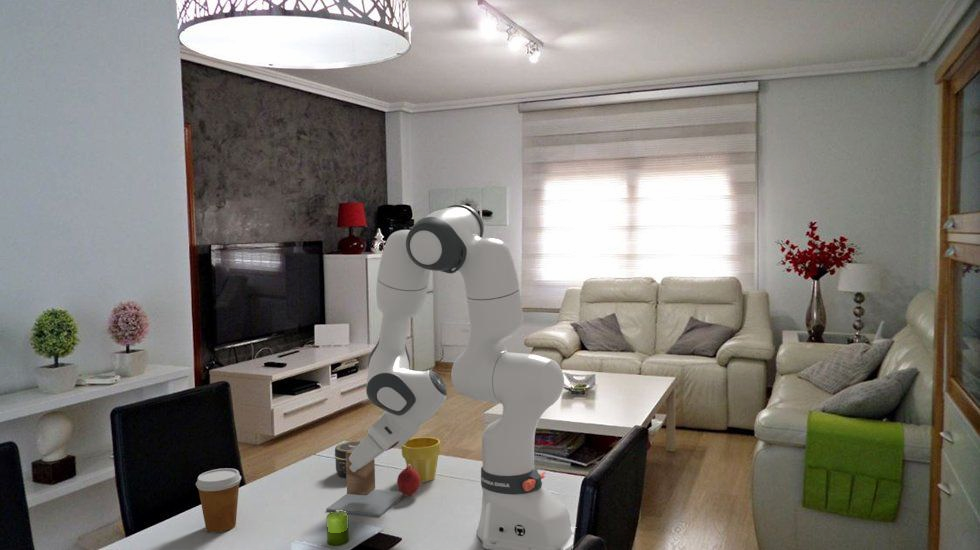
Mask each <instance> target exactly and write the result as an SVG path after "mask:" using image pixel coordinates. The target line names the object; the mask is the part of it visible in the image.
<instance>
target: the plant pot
mask: <svg viewBox="0 0 980 550" xmlns="http://www.w3.org/2000/svg"><path fill="white" fill-rule="evenodd" d="M441 446H442V445H441V440H440V439H439V438H437V437H431V436H420V437H419V436H418V437H411V438H410V439H409V440H408V441H407V442H406V443H405V445H403V446H401V456H402V458H403V459H404V460H405V466H407V465H409V464H411V465H412V468H413V469H414V470H416V471H417V472H418V474H419V476H420V480H421V483H425V482H431V481H432V480H435V478H436V473H437V465H438V461H439V460H438V459H439V456H440V454H441V451H442V450H441V448H442V447H441ZM430 480H431V481H430Z"/></svg>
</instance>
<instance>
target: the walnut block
mask: <svg viewBox="0 0 980 550" xmlns="http://www.w3.org/2000/svg"><path fill="white" fill-rule="evenodd" d="M355 448H356V446H355V447H354V448H352V449H350V450H349V451H347V452H346V478H345V479H346V494H353V495H365V496H366V495H368V494H369V493H370V492H371V491H373V490H374V489H376V473H375V472H376V469H375V467H376V465H375V459H373V460H372V461H370V462H369V463H367V464H366V465H365V466H363V467H362V468H361V469H358V470H357V471H356V472H352V471H351V470H350V468H349V467H350V466H351V464H352V463H351V462H350V460H349V457H350V455H351V453H352V452H353V451H354V450H355Z"/></svg>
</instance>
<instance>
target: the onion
mask: <svg viewBox="0 0 980 550" xmlns="http://www.w3.org/2000/svg"><path fill="white" fill-rule="evenodd" d="M421 483H422V482H421V480H420V476H419V474H418V472H417V471H416V470H414V469H413V468H412V465H411V464H409V465H406V467H405V469H403V470H402V471H400V473H399V474H398V476H397V479H396V485H397V488H398V491H399V492H402V493H403V494H404V496H406V497H411V496H412V495H414V494H415V493H417V492H418V490H419V489H420V487H421Z"/></svg>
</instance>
